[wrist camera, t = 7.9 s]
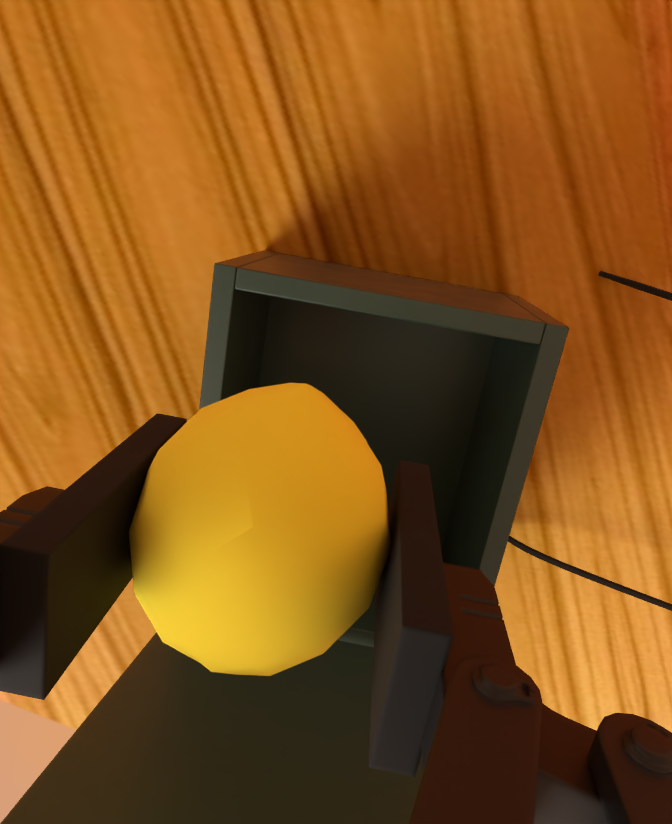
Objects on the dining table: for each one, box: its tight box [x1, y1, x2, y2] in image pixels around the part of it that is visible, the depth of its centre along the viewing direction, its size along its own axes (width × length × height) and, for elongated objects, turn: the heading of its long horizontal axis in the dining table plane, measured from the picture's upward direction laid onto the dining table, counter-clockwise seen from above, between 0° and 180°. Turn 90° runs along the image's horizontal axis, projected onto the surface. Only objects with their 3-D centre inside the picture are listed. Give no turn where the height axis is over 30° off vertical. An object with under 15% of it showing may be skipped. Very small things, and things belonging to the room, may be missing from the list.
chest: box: [199, 251, 569, 647], centre depth 28 cm, size 15×13×9 cm
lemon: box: [129, 383, 391, 676], centre depth 13 cm, size 7×5×5 cm
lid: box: [1, 632, 423, 824], centre depth 18 cm, size 15×13×1 cm
